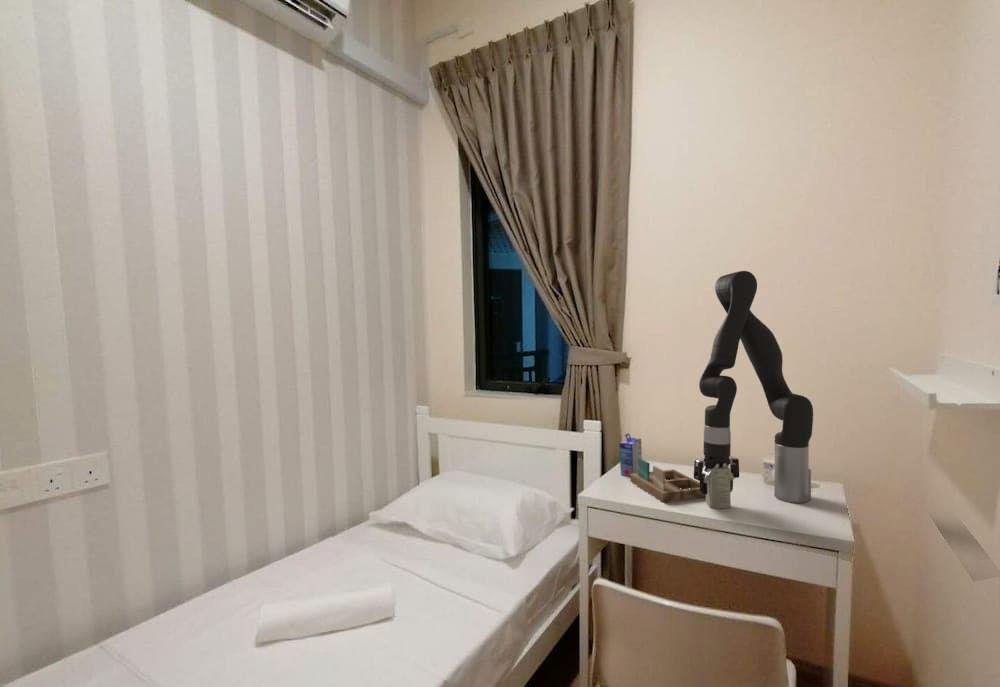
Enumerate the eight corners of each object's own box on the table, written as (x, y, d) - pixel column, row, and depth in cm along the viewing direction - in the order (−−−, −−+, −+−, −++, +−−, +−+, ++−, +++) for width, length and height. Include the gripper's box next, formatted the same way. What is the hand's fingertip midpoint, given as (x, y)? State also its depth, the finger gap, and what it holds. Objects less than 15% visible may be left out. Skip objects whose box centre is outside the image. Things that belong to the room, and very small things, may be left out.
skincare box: (725, 503, 151) (725, 464, 151) (731, 508, 147) (731, 469, 146) (704, 502, 152) (704, 464, 151) (709, 508, 147) (709, 468, 147)
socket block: (673, 477, 176) (673, 452, 176) (710, 497, 157) (710, 469, 156) (630, 482, 172) (630, 456, 172) (663, 502, 153) (663, 474, 152)
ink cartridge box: (628, 468, 189) (628, 430, 188) (642, 470, 186) (642, 432, 185) (619, 474, 181) (618, 436, 180) (633, 477, 178) (633, 438, 177)
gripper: (704, 444, 143) (703, 499, 144) (745, 441, 147) (745, 494, 147) (688, 438, 151) (688, 490, 151) (728, 436, 154) (728, 486, 155)
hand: (716, 492), depth 149 cm, fingers open, 8 cm apart
